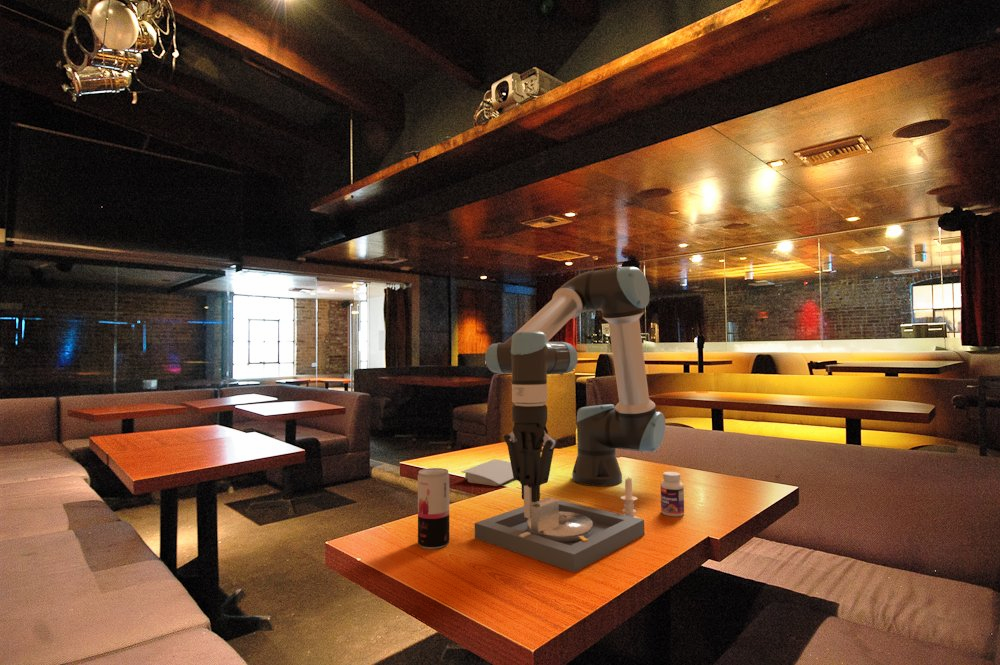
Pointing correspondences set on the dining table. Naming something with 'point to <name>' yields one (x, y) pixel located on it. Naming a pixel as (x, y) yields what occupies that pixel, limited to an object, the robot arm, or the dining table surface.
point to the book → (490, 473)
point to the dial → (558, 523)
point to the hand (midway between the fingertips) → (531, 516)
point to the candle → (629, 499)
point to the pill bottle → (672, 495)
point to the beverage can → (433, 508)
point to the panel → (571, 556)
